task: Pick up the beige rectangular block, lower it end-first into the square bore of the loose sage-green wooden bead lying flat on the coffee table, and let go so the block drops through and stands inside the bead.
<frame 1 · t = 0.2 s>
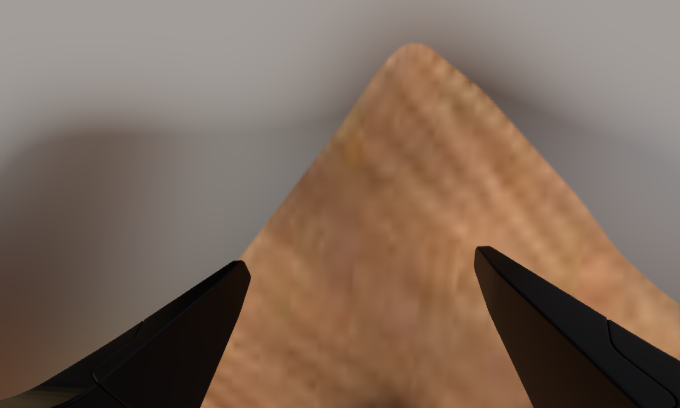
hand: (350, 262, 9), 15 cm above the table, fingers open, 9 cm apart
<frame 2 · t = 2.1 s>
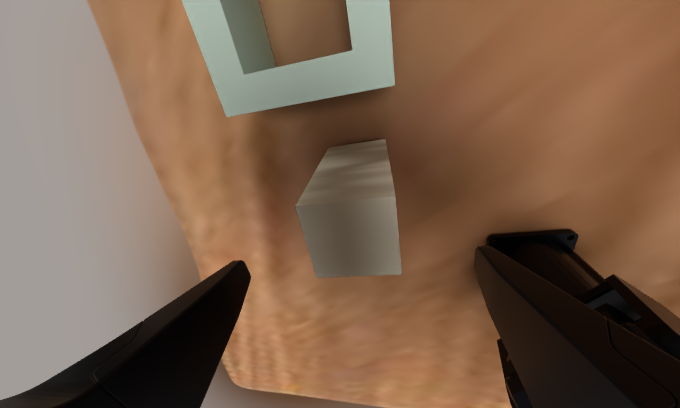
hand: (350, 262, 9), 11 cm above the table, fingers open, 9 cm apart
beige rectangular block: (361, 163, 19), on the table
bead: (306, 12, 15), on the table
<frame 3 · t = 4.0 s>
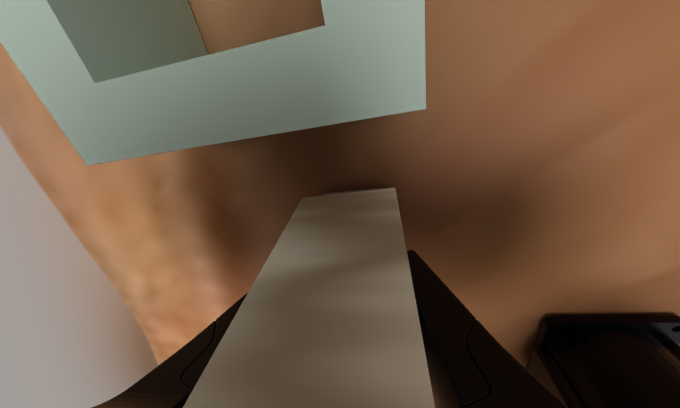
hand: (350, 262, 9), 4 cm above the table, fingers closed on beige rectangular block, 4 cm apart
beige rectangular block: (356, 214, 12), on the table, touching gripper
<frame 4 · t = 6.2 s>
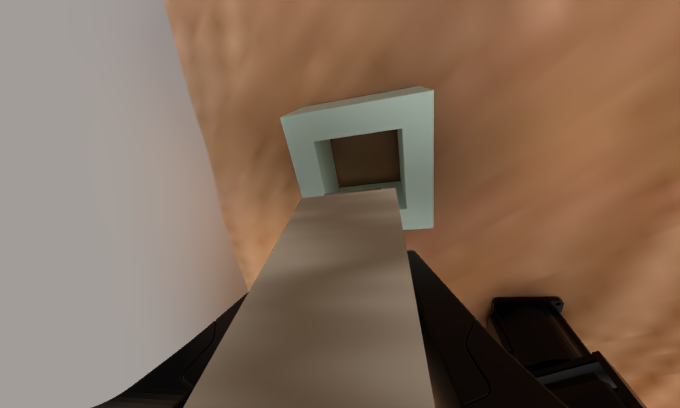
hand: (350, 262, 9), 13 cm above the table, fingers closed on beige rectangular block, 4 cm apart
beige rectangular block: (356, 215, 12), point 10 cm above the table, touching gripper
bead: (365, 154, 21), on the table
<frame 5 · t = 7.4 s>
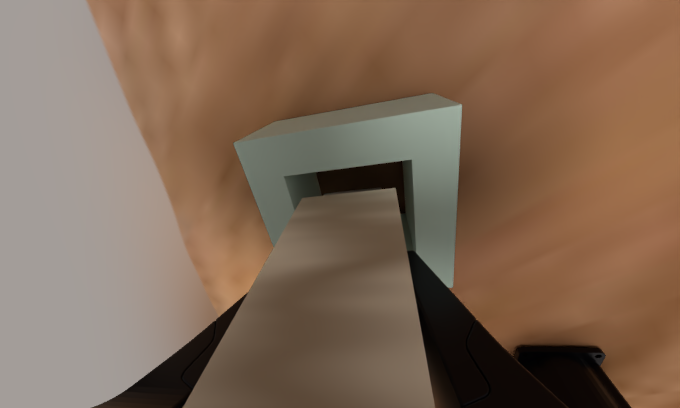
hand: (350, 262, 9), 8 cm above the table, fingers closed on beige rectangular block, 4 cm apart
beige rectangular block: (356, 214, 12), point 4 cm above the table, touching gripper
bead: (359, 181, 16), on the table
when the fingers open (6 cm above the table, at t = 8.4 s): beige rectangular block drops 3 cm, resting in bead.
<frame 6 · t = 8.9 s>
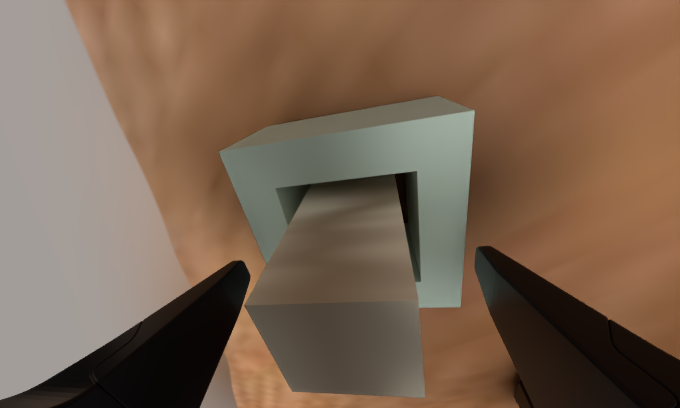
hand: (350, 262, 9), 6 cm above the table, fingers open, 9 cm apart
beige rectangular block: (360, 189, 15), resting in bead
bead: (359, 189, 15), on the table
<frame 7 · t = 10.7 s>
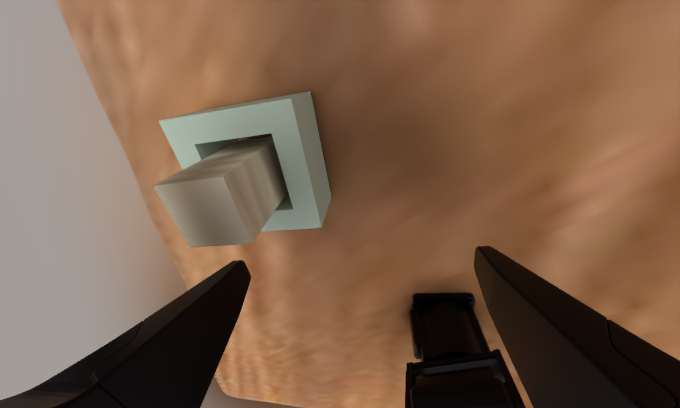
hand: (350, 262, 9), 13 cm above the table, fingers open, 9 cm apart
beige rectangular block: (273, 156, 21), resting in bead
bead: (272, 156, 21), on the table
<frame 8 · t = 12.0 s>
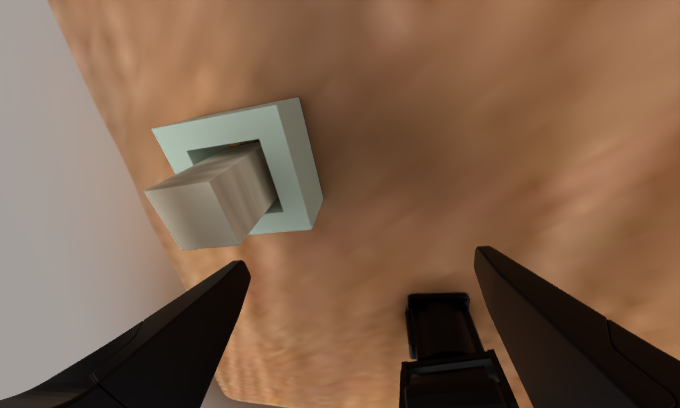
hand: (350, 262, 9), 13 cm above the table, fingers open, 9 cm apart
beige rectangular block: (265, 160, 22), resting in bead
bead: (264, 160, 22), on the table
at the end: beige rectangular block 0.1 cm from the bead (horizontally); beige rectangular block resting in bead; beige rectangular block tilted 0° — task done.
